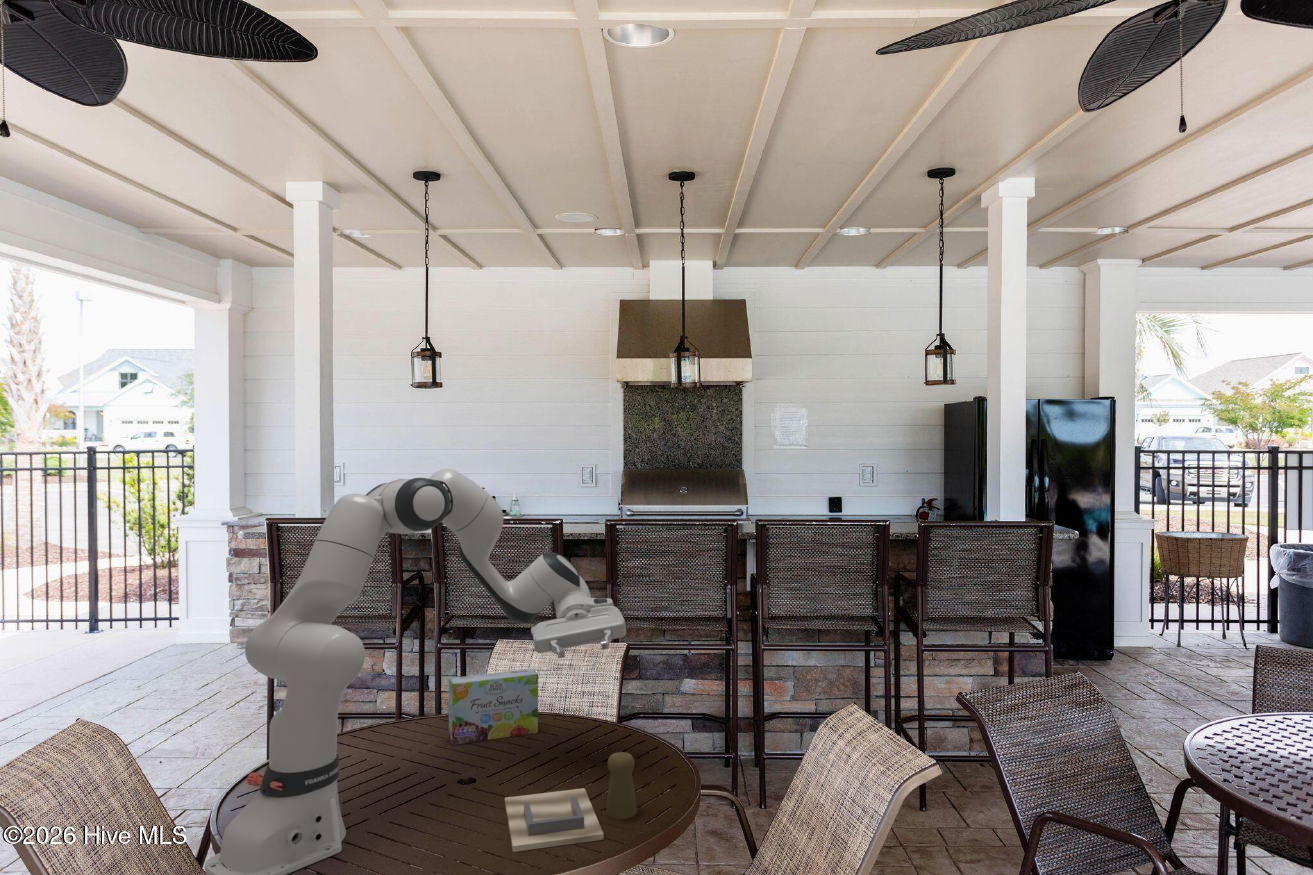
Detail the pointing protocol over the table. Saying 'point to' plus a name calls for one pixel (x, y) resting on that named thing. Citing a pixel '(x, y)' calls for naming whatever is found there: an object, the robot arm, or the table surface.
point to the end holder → (554, 821)
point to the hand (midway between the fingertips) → (583, 650)
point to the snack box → (493, 706)
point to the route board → (550, 808)
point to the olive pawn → (621, 787)
